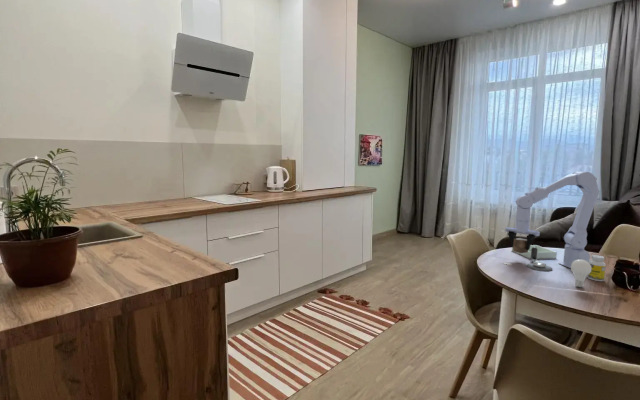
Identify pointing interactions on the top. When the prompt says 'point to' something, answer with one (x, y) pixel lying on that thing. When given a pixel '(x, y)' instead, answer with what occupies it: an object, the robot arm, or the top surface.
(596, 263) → the supplement bottle
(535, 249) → the crank
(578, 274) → the lightbulb
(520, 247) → the brown wooden block
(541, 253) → the tray
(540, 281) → the top surface
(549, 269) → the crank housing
